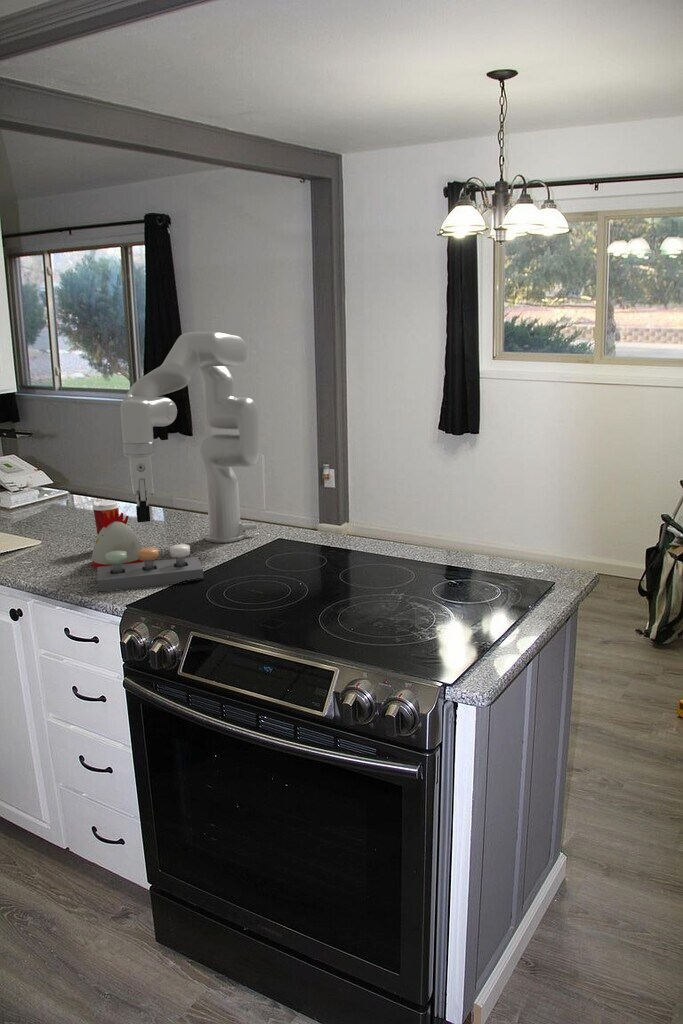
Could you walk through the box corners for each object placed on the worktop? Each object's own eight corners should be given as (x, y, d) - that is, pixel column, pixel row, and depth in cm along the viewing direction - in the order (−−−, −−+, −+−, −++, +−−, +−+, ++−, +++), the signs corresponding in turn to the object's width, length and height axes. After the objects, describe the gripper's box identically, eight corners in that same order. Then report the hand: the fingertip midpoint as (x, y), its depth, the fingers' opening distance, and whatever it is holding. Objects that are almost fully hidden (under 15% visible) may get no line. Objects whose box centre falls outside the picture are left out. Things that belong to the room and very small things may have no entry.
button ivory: (189, 561, 224) (188, 543, 223) (192, 567, 219) (190, 548, 218) (170, 563, 223) (168, 545, 222) (171, 569, 218) (170, 550, 217)
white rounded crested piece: (85, 562, 237) (79, 510, 234) (131, 552, 245) (126, 502, 242) (104, 573, 226) (99, 518, 223) (152, 563, 234) (147, 510, 231)
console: (198, 567, 229) (197, 556, 228) (203, 580, 218) (202, 569, 217) (98, 578, 222) (97, 567, 221) (98, 591, 211) (97, 580, 210)
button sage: (127, 568, 220) (126, 549, 219) (128, 573, 215) (126, 555, 214) (107, 570, 219) (105, 551, 218) (107, 576, 214) (105, 557, 213)
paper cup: (116, 553, 245) (111, 506, 241) (91, 552, 246) (86, 505, 243) (128, 545, 252) (123, 500, 249) (104, 545, 254) (99, 499, 250)
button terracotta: (159, 564, 222) (157, 546, 221) (160, 570, 217) (159, 551, 216) (138, 567, 221) (137, 548, 220) (139, 572, 216) (138, 553, 215)
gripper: (156, 452, 206) (160, 526, 209) (152, 445, 220) (156, 514, 223) (124, 454, 204) (129, 528, 207) (122, 446, 218) (127, 516, 221)
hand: (143, 521), depth 215 cm, fingers closed
